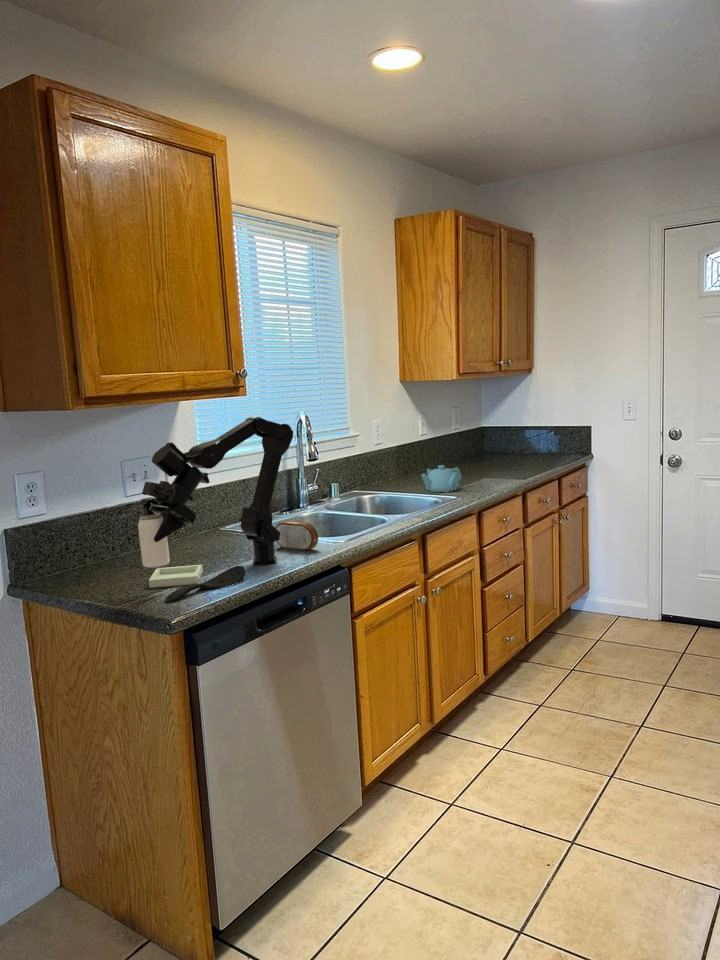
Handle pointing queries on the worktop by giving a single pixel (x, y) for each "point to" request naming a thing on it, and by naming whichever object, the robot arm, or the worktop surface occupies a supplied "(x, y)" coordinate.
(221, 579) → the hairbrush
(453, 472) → the teapot
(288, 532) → the tin
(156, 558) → the can
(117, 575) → the worktop surface
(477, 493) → the worktop surface
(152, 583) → the tray
